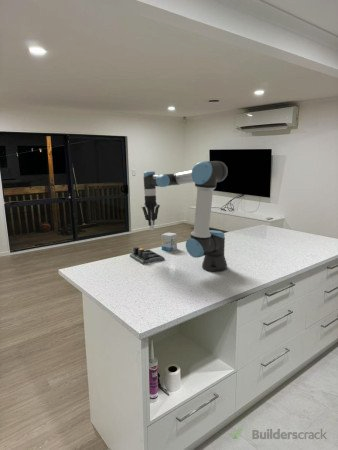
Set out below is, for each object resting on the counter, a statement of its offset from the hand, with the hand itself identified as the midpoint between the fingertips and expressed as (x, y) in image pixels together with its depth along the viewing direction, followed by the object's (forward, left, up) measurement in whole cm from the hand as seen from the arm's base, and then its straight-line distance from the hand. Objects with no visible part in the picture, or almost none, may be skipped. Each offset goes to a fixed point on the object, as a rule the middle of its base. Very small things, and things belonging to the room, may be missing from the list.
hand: (151, 230), depth 213 cm
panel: (+1, +4, -19) cm, 20 cm away
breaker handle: (+1, +8, -17) cm, 19 cm away
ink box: (+11, -20, -19) cm, 30 cm away
